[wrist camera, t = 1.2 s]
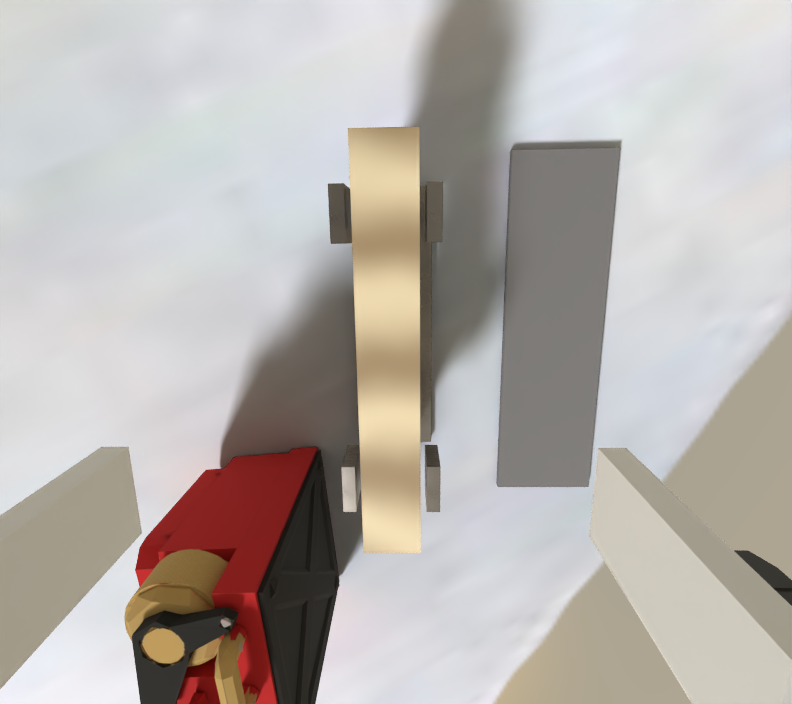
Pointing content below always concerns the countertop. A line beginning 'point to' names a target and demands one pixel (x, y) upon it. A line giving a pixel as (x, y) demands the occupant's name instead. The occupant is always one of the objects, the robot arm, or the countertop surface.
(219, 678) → the red coffee machine
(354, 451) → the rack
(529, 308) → the mat
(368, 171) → the rail
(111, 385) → the countertop surface
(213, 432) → the countertop surface
